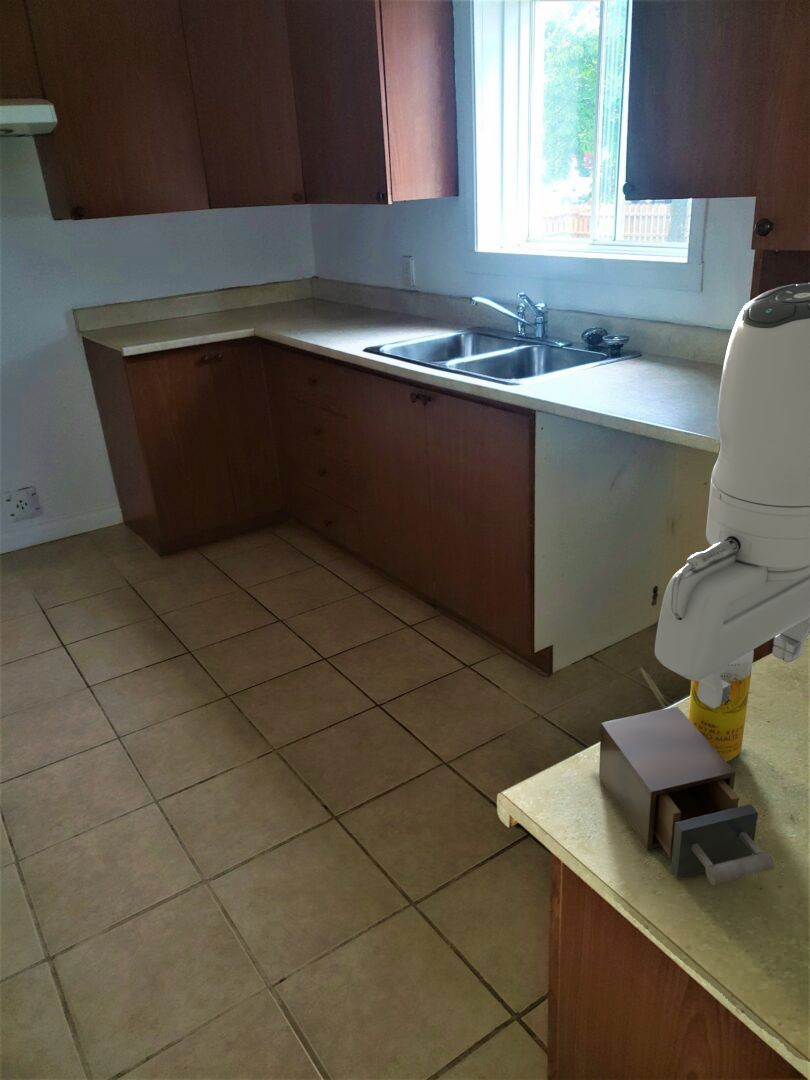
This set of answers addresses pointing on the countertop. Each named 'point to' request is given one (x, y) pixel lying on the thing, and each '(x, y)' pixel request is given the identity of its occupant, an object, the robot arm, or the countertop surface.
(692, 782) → the cabinet
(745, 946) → the countertop surface
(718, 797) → the drawer
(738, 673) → the beer can
